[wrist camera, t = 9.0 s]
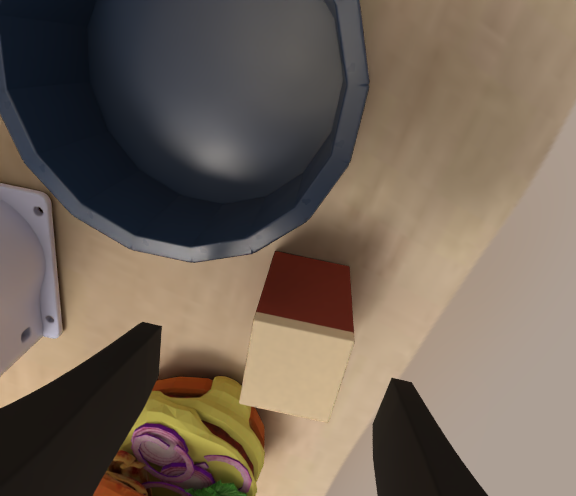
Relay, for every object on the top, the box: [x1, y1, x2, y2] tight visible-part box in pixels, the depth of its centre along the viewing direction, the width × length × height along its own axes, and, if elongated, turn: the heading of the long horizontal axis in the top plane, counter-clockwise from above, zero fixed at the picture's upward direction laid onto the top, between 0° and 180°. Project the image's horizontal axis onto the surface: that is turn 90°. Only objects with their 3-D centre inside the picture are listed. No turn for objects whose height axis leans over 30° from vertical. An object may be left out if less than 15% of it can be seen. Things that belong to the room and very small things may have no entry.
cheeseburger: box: [93, 376, 265, 496], centre depth 24 cm, size 10×11×10 cm
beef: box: [239, 251, 355, 423], centre depth 19 cm, size 5×4×6 cm
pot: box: [0, 0, 370, 263], centre depth 15 cm, size 12×12×6 cm
